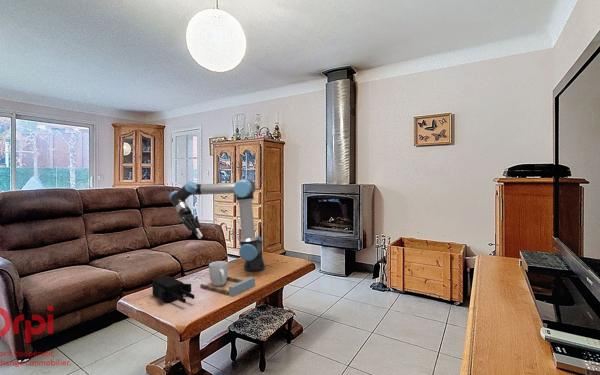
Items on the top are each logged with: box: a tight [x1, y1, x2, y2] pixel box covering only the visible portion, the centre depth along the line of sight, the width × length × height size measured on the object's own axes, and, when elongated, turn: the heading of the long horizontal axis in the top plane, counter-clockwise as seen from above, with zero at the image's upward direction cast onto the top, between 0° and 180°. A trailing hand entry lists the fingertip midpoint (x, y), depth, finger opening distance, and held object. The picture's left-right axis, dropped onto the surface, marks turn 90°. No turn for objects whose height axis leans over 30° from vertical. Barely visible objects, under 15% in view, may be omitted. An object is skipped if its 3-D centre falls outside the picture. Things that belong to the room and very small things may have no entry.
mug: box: [208, 260, 229, 287], centre depth 180 cm, size 15×11×13 cm
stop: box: [228, 276, 256, 297], centre depth 171 cm, size 3×18×5 cm, turn 148°
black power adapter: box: [151, 275, 195, 304], centre depth 159 cm, size 16×9×30 cm
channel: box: [199, 275, 244, 296], centre depth 178 cm, size 23×19×2 cm
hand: (200, 237), depth 190 cm, fingers closed
